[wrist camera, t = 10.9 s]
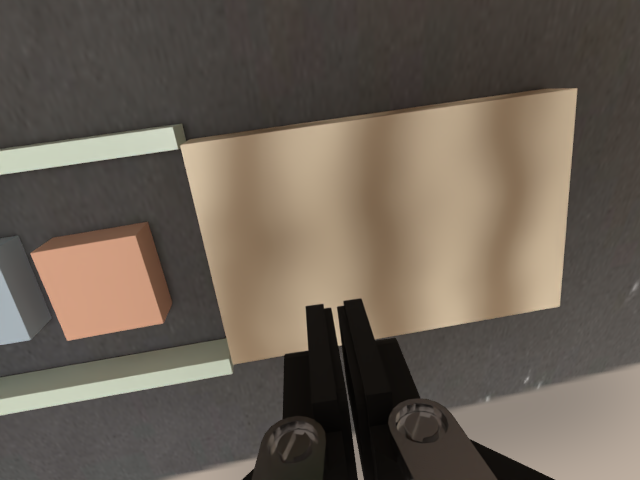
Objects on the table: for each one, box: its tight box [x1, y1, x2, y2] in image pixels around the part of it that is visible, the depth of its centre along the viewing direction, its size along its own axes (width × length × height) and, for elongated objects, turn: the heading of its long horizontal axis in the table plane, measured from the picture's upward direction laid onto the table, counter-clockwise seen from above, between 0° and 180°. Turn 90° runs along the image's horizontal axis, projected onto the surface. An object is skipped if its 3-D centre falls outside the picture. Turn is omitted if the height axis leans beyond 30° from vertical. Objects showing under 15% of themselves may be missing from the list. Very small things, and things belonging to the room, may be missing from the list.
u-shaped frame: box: [0, 124, 234, 415], centre depth 22 cm, size 16×14×2 cm
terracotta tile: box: [30, 222, 172, 341], centre depth 22 cm, size 5×5×2 cm
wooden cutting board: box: [180, 88, 577, 364], centre depth 23 cm, size 19×12×2 cm, turn 97°
